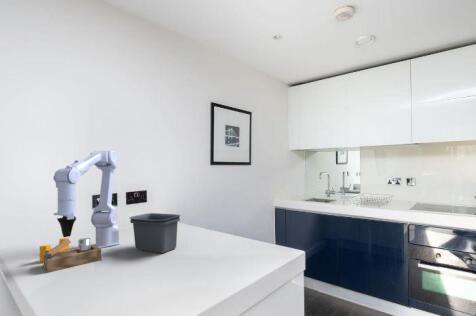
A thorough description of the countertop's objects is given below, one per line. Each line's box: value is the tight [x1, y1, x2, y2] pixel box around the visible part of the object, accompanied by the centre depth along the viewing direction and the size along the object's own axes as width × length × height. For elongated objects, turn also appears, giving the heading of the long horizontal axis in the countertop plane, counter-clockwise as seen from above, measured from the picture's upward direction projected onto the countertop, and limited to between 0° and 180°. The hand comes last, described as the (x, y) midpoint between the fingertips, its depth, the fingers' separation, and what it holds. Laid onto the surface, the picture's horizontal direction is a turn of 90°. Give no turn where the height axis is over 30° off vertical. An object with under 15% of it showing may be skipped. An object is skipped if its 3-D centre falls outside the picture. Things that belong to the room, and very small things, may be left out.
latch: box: [45, 239, 72, 257], centre depth 97 cm, size 8×4×1 cm
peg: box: [77, 237, 91, 253], centre depth 102 cm, size 4×4×8 cm
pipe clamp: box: [39, 237, 70, 264], centre depth 107 cm, size 12×4×6 cm, turn 175°
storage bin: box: [129, 212, 181, 254], centre depth 115 cm, size 21×16×14 cm
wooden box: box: [43, 244, 102, 273], centre depth 100 cm, size 17×10×6 cm, turn 133°
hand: (66, 236), depth 99 cm, fingers closed
